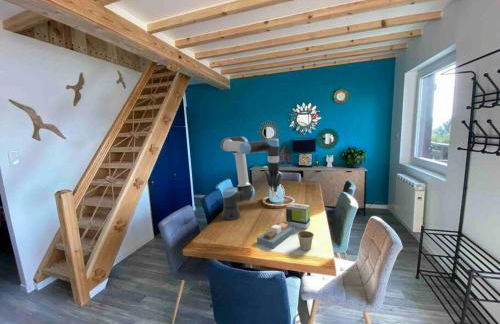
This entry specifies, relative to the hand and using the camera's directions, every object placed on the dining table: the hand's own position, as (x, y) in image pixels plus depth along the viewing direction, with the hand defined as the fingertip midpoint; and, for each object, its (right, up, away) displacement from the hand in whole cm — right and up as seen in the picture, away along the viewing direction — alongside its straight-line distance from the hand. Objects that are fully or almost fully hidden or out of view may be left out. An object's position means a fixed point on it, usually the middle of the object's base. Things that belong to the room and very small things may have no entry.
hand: (273, 196), depth 161 cm
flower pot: (+17, -28, -21) cm, 39 cm away
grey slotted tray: (+1, -26, -7) cm, 27 cm away
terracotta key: (+6, -23, -1) cm, 24 cm away
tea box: (+19, -23, +12) cm, 32 cm away
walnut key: (-4, -25, -14) cm, 29 cm away
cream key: (+1, -22, -8) cm, 24 cm away
